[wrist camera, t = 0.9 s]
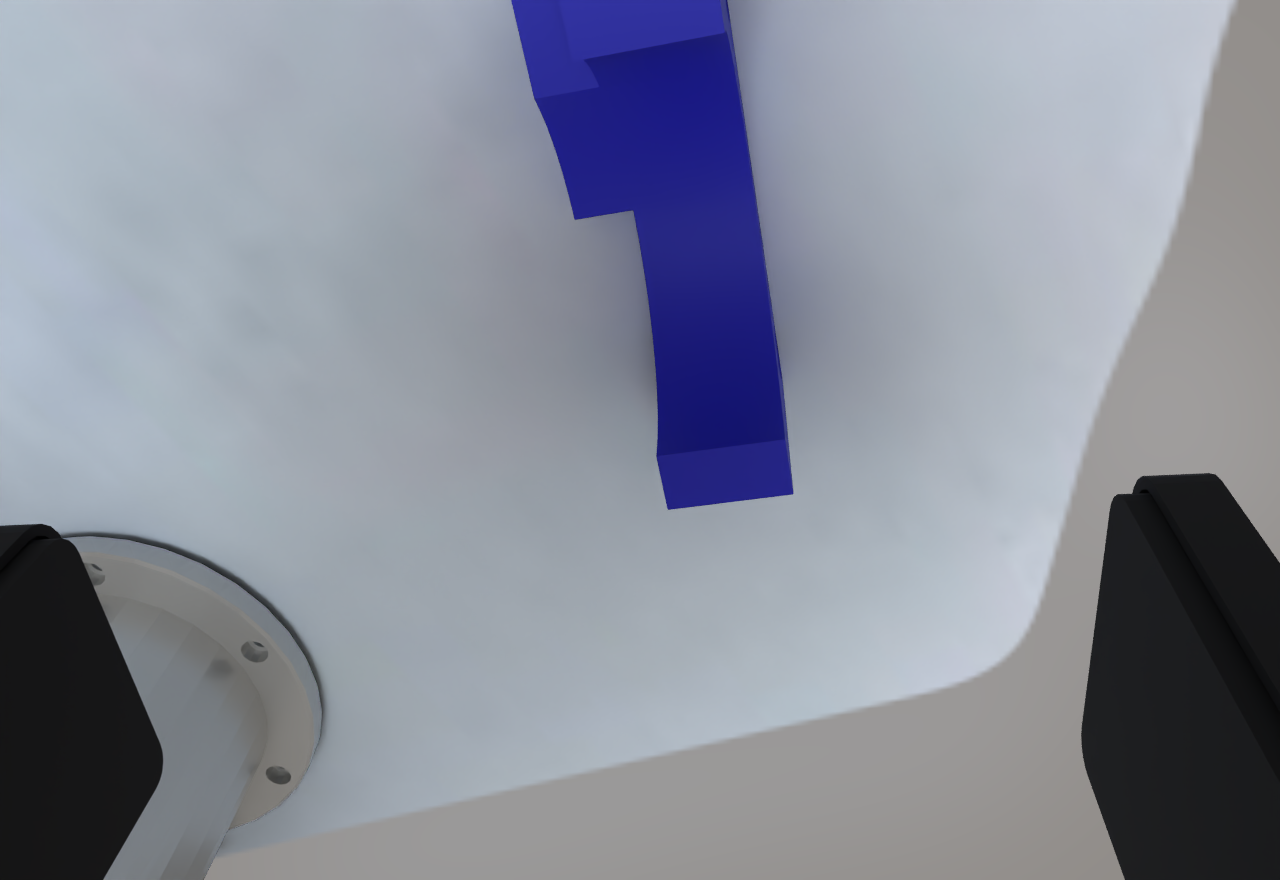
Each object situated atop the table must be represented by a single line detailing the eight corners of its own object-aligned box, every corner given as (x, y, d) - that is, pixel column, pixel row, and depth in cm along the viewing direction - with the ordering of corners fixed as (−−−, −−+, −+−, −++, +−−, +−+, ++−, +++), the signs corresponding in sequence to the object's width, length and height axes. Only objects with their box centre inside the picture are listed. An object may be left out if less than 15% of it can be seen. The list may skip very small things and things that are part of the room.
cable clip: (527, -43, 26) (478, -5, 21) (715, -82, 26) (712, -52, 21) (626, 401, 32) (606, 517, 27) (782, 379, 31) (793, 494, 26)
